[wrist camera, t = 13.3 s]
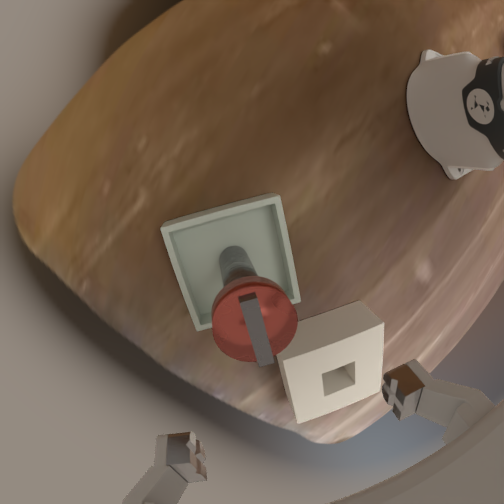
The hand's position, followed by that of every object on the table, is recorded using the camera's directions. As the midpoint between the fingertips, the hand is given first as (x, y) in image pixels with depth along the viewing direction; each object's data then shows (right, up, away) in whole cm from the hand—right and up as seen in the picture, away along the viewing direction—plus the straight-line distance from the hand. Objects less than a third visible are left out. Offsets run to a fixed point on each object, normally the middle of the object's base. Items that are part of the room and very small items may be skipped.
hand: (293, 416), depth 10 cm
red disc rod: (-3, +6, +19) cm, 20 cm away
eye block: (+8, -7, +26) cm, 28 cm away
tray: (-4, +6, +20) cm, 21 cm away
